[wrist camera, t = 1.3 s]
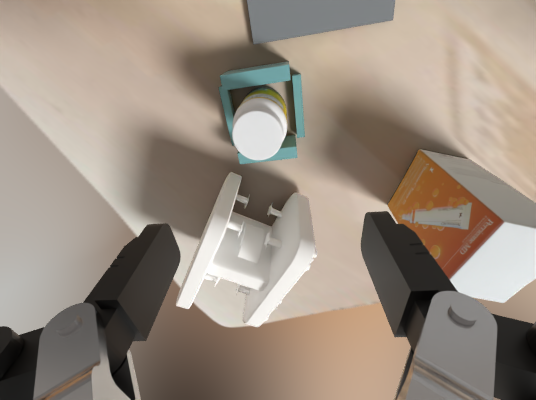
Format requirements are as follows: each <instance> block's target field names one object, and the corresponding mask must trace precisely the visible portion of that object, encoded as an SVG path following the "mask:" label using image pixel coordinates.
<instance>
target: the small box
mask: <svg viewBox="0 0 536 400" xmlns="http://www.w3.org/2000/svg"><path fill="white" fill-rule="evenodd" d="M388 207H389V209H390V210H391V212H392V214H393V216H394V217H395V219H396V221H397V222H398V224H404V225H406V226H407V227H409V228H410V229H411V230H413V231H414V232H415V233H416V234H417V235H418V237H419V238H420V240H421V241H422V242H423V245H425V247H426V248H427V249H428V251H429V253H430V254H431V255H432V256H433V258H434V259H435V260H436V262H437V263H438V265H439V266H440V267H441V269H442V270H443V272H444V273H445V274H446V276H447V277H448V278H449V280H450V281H451V283H452V284H453V285H454V287H455V288H456V290H457V291H458V292H459V293H462V294H465V295H468V296H470V297H474V298H479V299H485V300H490V301H496V302H501V303H504V302H506V301H507V300H508V299H509V298H510V297H512V296H513V295H514V294H516V293H517V292H518V291H519V290H521V289H522V288H523V287H524V286H526V285H527V284H528V283H530V282H531V281H533V280H534V279H536V203H535V202H533V201H532V200H530V199H529V198H527V197H526V196H524V195H523V194H522V193H520V192H519V191H517V190H516V189H514V188H513V187H511V186H510V185H508V184H507V183H505V182H504V181H502V180H501V179H499V178H498V177H496V176H495V175H493V174H492V173H490V172H489V171H487V170H485V169H484V168H482V167H481V166H479V165H478V164H476V163H475V162H473V161H472V160H470V159H465V158H460V157H456V156H450V155H445V154H441V153H436V152H431V151H427V150H422V149H419V150H418V152H417V154H416V156H415V158H414V160H413V162H412V164H411V165H410V167H409V169H408V171H407V173H406V174H405V176H404V178H403V180H402V181H401V183H400V185H399V186H398V188H397V190H396V192H395V193H394V195H393V197H392V198H391V200H390V202H389V203H388Z"/></svg>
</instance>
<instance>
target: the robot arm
mask: <svg viewBox="0 0 536 400" xmlns="http://www.w3.org/2000/svg"><path fill="white" fill-rule="evenodd" d="M361 251H362V256H363V259H364V261H365V264H366V266H367V269H368V271H369V274H370V276H371V279H372V281H373V284H374V286H375V289H376V291H377V294H378V296H379V299H380V301H381V304H382V306H383V309H384V311H385V314H386V317H387V319H388V322H389V324H390V326H391V329H392V332H393V334H394V337H407V338H408V341H409V343H410V345H411V348H410V350H409V354H408V357H407V360H406V363H405V366H404V370H403V373H402V376H401V379H400V382H399V385H398V389H397V392H396V395H395V398H394V400H493V398H494V397H495V398H498V399H501V400H536V322H535V323H534V324H532V323H528V322H524V321H519V320H515V319H511V318H506V317H502V316H498V315H495V314H491V313H490V312H489V310H488V309H487V308H486V307H485V306H483V305H482V304H481V303H479V302H478V301H477V300H475V299H473V298H472V297H470V296H468V295H465V294H462V293H459V292H458V291H457V290H456V288H455V287H454V285H453V284H452V283H451V281H450V280H449V278H448V277H447V276H446V274H445V273H444V272H443V270H442V269H441V267H440V266H439V265H438V263H437V262H436V260H435V259H434V258H433V256H432V255H431V254H430V253H429V251H428V249H427V248H426V247H425V245H423V242H422V241H421V240H420V238H419V237H418V235H417V234H416V233H415V232H414V231H413V230H411V229H410V228H409V227H407V226H406V225H404V224H396V223H395V221H394V220H393V218H392V217H391V215H390V214H389V212H387V211H384V212H367V213H366V214H365V218H364V225H363V231H362V238H361ZM179 263H180V250H179V247H178V245H177V242H176V240H175V237H174V235H173V232H172V230H171V228H170V226H169V225H168V224H166V223H165V224H149V225H147V226H146V227H145V228H144V230H143V231H142V233H141V234H140V235H139V237H136V238H135V239H133V240H132V241H131V242H129V243H128V244H127V245H126V246H124V248H123V249H122V250H121V252H120V253H119V255H118V256H117V259H115V260H114V261H113V263H112V264H111V265H110V266H111V267H110V268H108V270H107V271H106V272H105V274H104V275H103V276H102V278H101V279H100V280H99V282H98V283H97V284H96V286H95V287H94V289H93V290H92V292H91V293H90V294H89V295H88V297H87V298H86V299H85V301H84V302H83V303H79V304H75V305H73V306H70V307H68V308H66V309H64V310H63V311H61V312H60V313H58V314H57V315H56V316H55V317H54V318H52V319H51V320H50V322H49V323H48V324H47V325H46V326H45V327H43V328H40V329H37V330H34V331H31V332H28V333H24V334H21V335H18V334H17V333H15V332H14V331H13V330H11V329H10V328H9V327H4V326H3V327H0V400H141V398H140V393H139V388H138V384H137V380H136V374H135V370H134V366H133V361H132V356H131V353H130V351H129V348H130V346H131V344H132V342H133V341H146V340H147V337H148V335H149V333H150V330H151V328H152V326H153V323H154V321H155V319H156V316H157V314H158V312H159V310H160V307H161V305H162V302H163V300H164V298H165V296H166V293H167V291H168V289H169V286H170V284H171V282H172V280H173V277H174V275H175V273H176V270H177V268H178V266H179Z"/></svg>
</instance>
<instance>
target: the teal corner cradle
mask: <svg viewBox="0 0 536 400" xmlns="http://www.w3.org/2000/svg"><path fill="white" fill-rule="evenodd" d="M220 79H221V84H222V86H220V87H219V91H220V96H221V100H222V104H223V108H224V113H225V117H226V121H227V125H228V130H229V134H230V138H231V142H232V146H234V142H233V138H232V130H233V119H234V115H235V113H234V108H233V104H232V99H231V94H230V89H237V88H243V87H250V86H257V85H263V84H270V83H276V82H283V81H289V80H291V79H290V68H289V61H287V62H280V63H274V64H268V65H262V66H256V67H250V68H244V69H238V70H231V71H227V72H225V73H223V74H222V75H220ZM292 82H293V94H294V106H295V118H296V130H297V138H299V137H305V132H304V117H303V102H302V87H301V74H294V75H292ZM237 154H238V158H239V162H240V164H246V163H255V162H264V161H273V160H282V159H291V158H297V148H296V138H295V135H290V136H285V138H284V140H283V142H282V144H281V147H280V149H279V150H278V152H277V153H276V154H275V155H273V156H272V157H270V158H268V159H265V160H252V159H249V158H247V157H245V156H243V155H242V154H241V153H240V152H239V151H238V153H237Z"/></svg>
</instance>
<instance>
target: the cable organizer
mask: <svg viewBox="0 0 536 400" xmlns="http://www.w3.org/2000/svg"><path fill="white" fill-rule="evenodd" d="M241 179H242V177H241V176H240V175H237V174H235V173H233V172H230V173H229V174H228V176H227V178H226V180H225V182H224V184H223V186H222V188H221V191H220V193H219V195H218V198H217V200H216V203H215V205H214V207H213V210H212V212H211V215H210V217H209V219H208V222H207V224H206V226H205V229H204V231H203V234H202V236H201V239H200V241H199V244H198V246H197V249H196V251H195V254H194V256H193V259H192V261H191V264H190V266H189V269H188V271H187V274H186V276H185V279H184V281H183V284H182V286H181V289H180V291H179V294H178V298H177V302H176V306H179V307H182V308H186V309H189V308H190V306H191V305H192V303H193V301H194V299H195V297H196V295H197V292H198V290H199V288H200V286H201V284H202V282H203V280H204V279H207V280H210V281H214V282H215V283H214V284H215V286H216V284H217V283H218V281H219V280H220V278H222V279H225V280H229V281H232V282H235V283H238V285H237V288H236V290H237V292H238V291H239V292H242V293H245V294H246V299H245V305H244V312H243V322H244V323H245V324H248V325H251V326H255V327H259V326H260V325H261V324H262V323H263V322H264V321H267V319H268V318H269V315H270V313H271V312H272V311H273V310H274V309H277V305H278V304H281V302H282V299H283V298H284V296H285V295H286V294H287V293H288V292H289V290H290V289H291V288H292V287H293V285H294V284H295V283H296V282H298V279H299V278H300V277H301V276H302V275H303V273H304V272H305V271H306V270H307V271H308V270H309V269H310V266H311V262H312V261H313V260H314V259H313V257H314V258H316V257H317V248H316V247H315V237H314V230H313V223H312V217H311V210H310V204H309V198H308V197H306V196H304V195H301V194H299V193H297V192H295V193H293V194H292V195H291V196H290V198H289V199H288V200H287V202H286V204H285V205H284V207H283V209H282V210H281V211H278V210H276V209H273V208H272V204H271V206H269V210H268V213H267V215H268V214H272V215H275V216H277V218H276V220H275V222H274V223H273V225H272V227H271V226H269V225H266V224H263V223H261V222H258V221H256V220H253V219H251V218H248V217H245V216H243V215H240V214H238V213H235V212H232V210H233V206H234V203H235V200H237V201H240V202H242V203H245V206H244V207H245V208H246V206H247V204H248V201H249V197H248V198H246V197H244V196H241V195H239V194H237V193H238V190H239V187H240V183H241ZM249 196H250V195H249ZM272 203H273V202H272ZM268 218H269V215H268ZM240 284H241V285H240ZM242 285H244V286H242ZM245 286H247V287H245ZM214 288H215V287H214ZM237 292H236V295H237Z"/></svg>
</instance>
